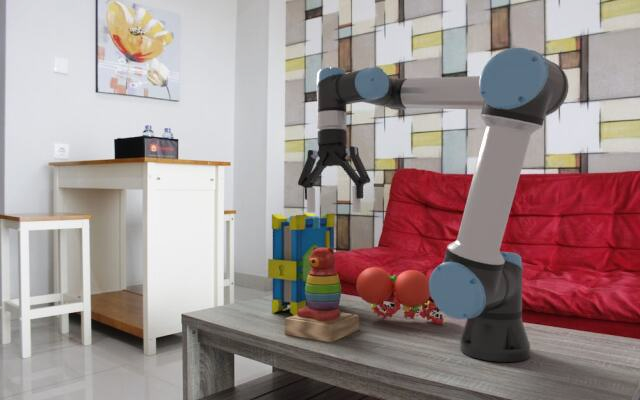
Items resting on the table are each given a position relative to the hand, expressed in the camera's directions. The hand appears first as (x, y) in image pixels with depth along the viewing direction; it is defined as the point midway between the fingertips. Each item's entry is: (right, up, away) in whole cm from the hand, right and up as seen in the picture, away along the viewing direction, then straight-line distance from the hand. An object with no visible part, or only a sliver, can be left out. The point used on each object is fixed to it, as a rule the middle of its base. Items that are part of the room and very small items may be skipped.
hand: (333, 212), depth 132 cm
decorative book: (-8, -31, +29) cm, 43 cm away
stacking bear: (-3, -27, +2) cm, 27 cm away
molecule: (+19, -32, +12) cm, 39 cm away
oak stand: (-3, -31, +2) cm, 31 cm away
